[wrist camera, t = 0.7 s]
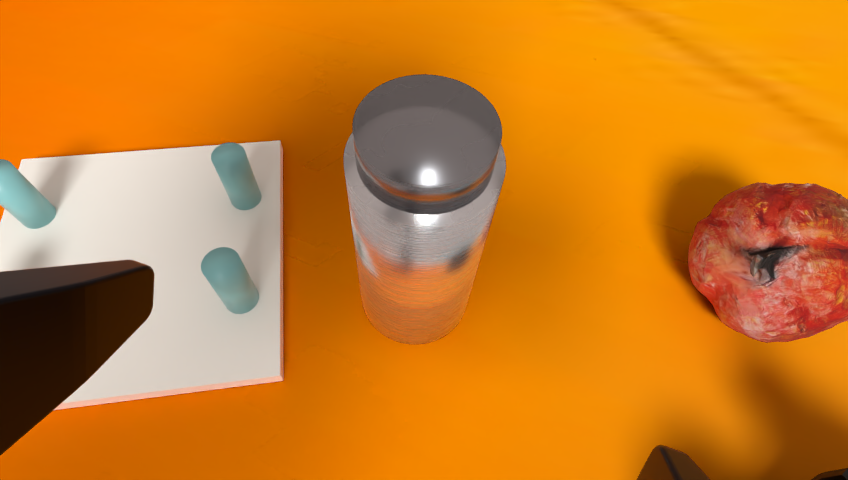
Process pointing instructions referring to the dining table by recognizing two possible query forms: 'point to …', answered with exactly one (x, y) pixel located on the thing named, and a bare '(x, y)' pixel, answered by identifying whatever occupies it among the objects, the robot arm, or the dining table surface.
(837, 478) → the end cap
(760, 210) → the pomegranate
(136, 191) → the tray
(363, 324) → the dining table surface
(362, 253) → the shaker
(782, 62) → the dining table surface
